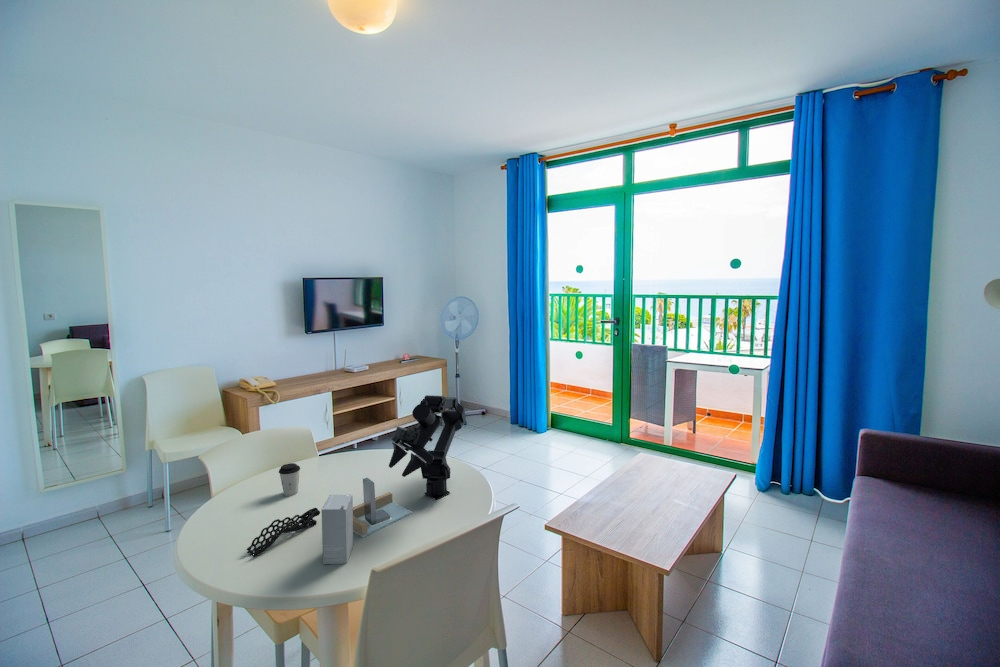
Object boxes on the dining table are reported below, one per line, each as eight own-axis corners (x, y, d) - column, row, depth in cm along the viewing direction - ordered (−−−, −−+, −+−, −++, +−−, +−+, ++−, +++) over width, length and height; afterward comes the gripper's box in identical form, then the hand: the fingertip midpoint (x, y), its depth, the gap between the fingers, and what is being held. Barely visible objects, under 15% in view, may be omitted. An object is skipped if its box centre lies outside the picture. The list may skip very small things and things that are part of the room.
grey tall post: (382, 512, 147) (381, 473, 145) (390, 518, 143) (388, 478, 141) (364, 519, 143) (362, 478, 142) (371, 525, 139) (369, 484, 138)
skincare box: (330, 547, 129) (327, 493, 127) (356, 546, 130) (353, 492, 128) (321, 566, 121) (317, 508, 119) (349, 564, 121) (346, 507, 119)
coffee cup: (305, 488, 166) (303, 462, 165) (295, 498, 159) (293, 470, 158) (287, 488, 167) (285, 461, 166) (276, 497, 160) (274, 469, 159)
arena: (389, 502, 155) (389, 491, 155) (412, 513, 147) (411, 502, 147) (340, 523, 142) (340, 512, 141) (362, 537, 134) (362, 525, 133)
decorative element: (256, 560, 124) (254, 540, 123) (244, 555, 126) (243, 535, 126) (324, 522, 144) (323, 504, 143) (312, 518, 146) (311, 500, 145)
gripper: (395, 411, 155) (366, 450, 150) (423, 423, 141) (392, 468, 135) (417, 428, 161) (389, 467, 156) (446, 442, 147) (416, 486, 141)
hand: (396, 471), depth 147 cm, fingers open, 9 cm apart
